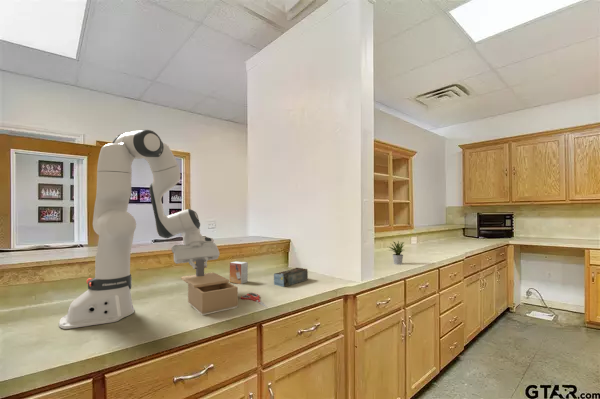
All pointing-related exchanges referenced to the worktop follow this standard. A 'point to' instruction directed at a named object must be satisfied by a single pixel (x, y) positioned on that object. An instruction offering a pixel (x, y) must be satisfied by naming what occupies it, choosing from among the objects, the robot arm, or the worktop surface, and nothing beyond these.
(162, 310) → the worktop surface
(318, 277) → the worktop surface
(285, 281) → the beverage carton
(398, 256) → the house plant
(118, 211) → the robot arm
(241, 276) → the small box
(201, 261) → the carton lid
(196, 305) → the carton
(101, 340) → the worktop surface
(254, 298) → the scissors
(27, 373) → the worktop surface
